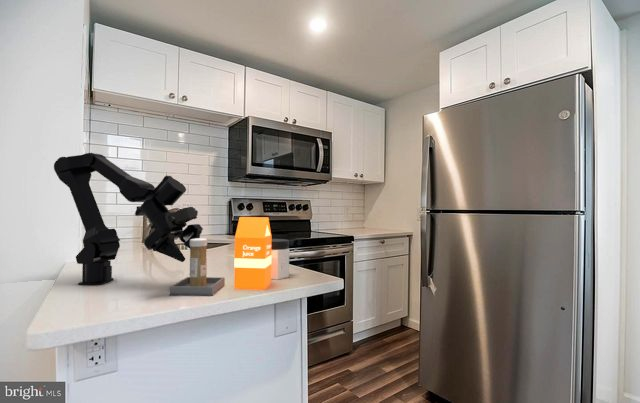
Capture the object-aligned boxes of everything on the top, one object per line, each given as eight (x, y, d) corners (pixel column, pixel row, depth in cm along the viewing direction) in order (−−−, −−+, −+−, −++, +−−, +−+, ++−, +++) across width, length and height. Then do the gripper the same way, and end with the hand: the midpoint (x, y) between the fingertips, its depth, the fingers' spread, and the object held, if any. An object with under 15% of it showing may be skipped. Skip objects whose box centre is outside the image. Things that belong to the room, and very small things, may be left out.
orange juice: (242, 282, 98) (243, 216, 98) (271, 283, 97) (272, 216, 97) (233, 288, 90) (234, 217, 90) (264, 290, 89) (265, 218, 89)
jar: (272, 281, 99) (272, 242, 99) (257, 276, 105) (258, 240, 105) (294, 276, 105) (294, 240, 105) (279, 272, 111) (280, 238, 111)
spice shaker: (208, 288, 88) (209, 239, 88) (191, 290, 85) (191, 240, 85) (204, 284, 91) (204, 237, 91) (187, 286, 89) (187, 238, 89)
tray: (169, 295, 83) (169, 286, 83) (187, 284, 94) (187, 277, 94) (212, 295, 83) (212, 287, 83) (224, 285, 94) (224, 277, 94)
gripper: (155, 196, 81) (193, 242, 78) (198, 197, 99) (230, 235, 97) (127, 226, 82) (164, 272, 80) (174, 222, 100) (205, 259, 98)
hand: (194, 258), depth 89 cm, fingers open, 9 cm apart
